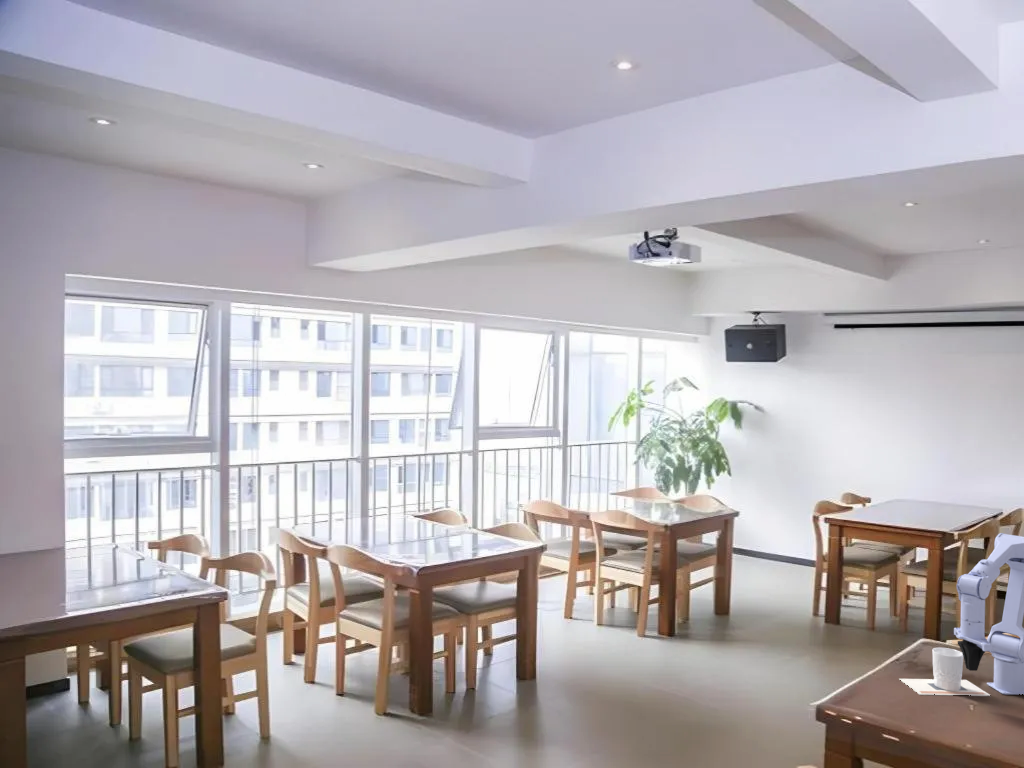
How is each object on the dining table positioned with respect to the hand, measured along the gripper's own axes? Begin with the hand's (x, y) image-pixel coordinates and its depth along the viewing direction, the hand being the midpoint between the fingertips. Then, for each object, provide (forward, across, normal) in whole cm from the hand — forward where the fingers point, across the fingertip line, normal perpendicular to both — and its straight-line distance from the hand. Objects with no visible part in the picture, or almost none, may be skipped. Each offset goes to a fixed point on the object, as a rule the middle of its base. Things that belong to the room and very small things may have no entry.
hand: (971, 669), depth 219 cm
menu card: (+9, -12, -1) cm, 15 cm away
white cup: (+9, -12, 0) cm, 15 cm away
